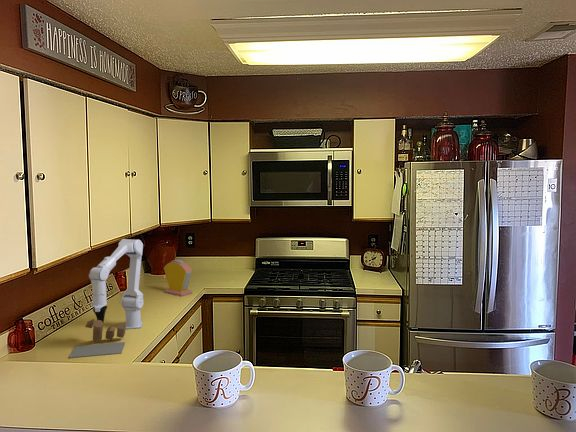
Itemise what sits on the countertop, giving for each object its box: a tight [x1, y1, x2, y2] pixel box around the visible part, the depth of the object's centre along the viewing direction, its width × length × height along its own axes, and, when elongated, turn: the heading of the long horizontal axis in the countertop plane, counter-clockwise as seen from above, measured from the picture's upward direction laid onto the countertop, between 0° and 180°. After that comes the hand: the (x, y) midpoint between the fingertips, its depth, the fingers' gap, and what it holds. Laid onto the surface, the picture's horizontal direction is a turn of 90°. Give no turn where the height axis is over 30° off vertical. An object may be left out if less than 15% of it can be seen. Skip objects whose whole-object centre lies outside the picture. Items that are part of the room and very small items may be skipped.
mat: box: [68, 341, 126, 359], centre depth 204 cm, size 13×21×1 cm, turn 103°
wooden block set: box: [85, 318, 127, 343], centre depth 214 cm, size 18×9×10 cm
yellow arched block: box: [163, 259, 193, 297], centre depth 300 cm, size 22×9×22 cm, turn 53°
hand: (100, 322), depth 214 cm, fingers closed
